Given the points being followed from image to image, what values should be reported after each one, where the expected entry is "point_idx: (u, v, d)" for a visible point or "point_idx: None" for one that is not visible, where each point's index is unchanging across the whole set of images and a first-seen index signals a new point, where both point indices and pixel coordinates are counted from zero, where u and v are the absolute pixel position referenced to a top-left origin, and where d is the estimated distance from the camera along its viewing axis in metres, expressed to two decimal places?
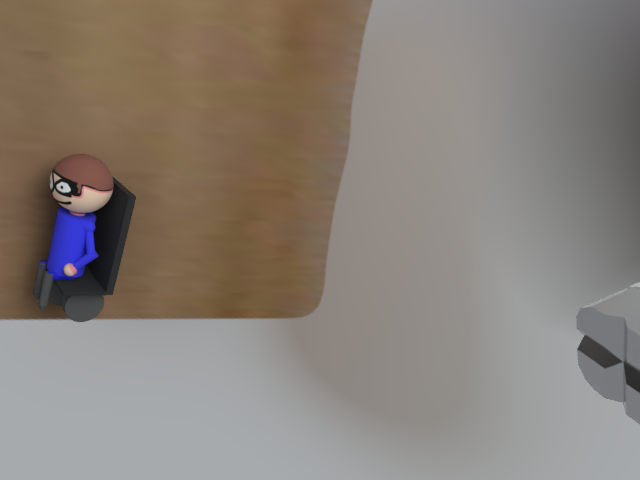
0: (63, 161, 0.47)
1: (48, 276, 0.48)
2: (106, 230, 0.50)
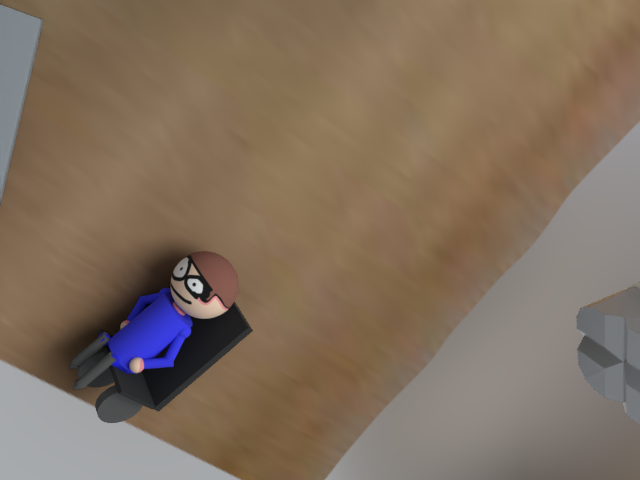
0: (208, 258, 0.41)
1: (110, 360, 0.40)
2: (191, 339, 0.44)
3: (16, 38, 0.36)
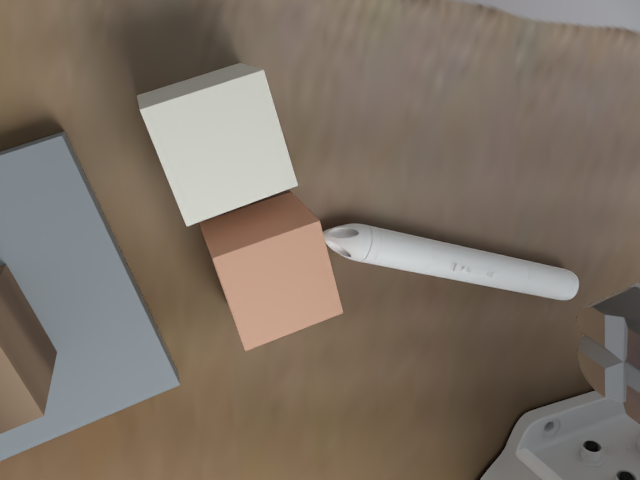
0: None
1: None
2: None
3: (142, 381, 0.29)
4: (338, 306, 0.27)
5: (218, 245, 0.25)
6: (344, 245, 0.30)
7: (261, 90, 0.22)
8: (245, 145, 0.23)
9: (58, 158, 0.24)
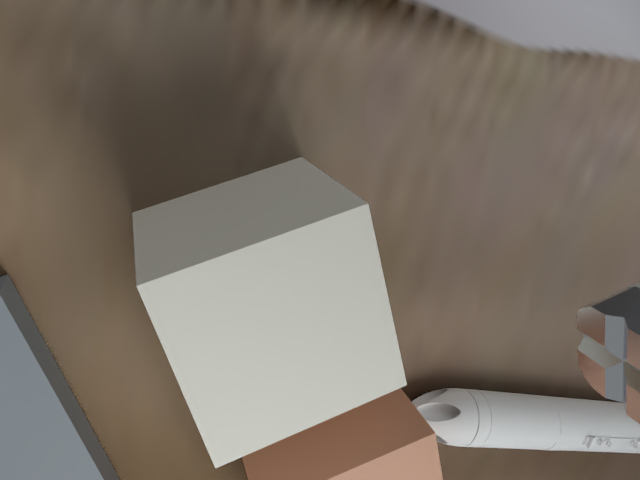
0: None
1: None
2: None
3: None
4: None
5: (263, 470, 0.15)
6: (439, 431, 0.20)
7: (361, 238, 0.12)
8: (326, 331, 0.13)
9: None
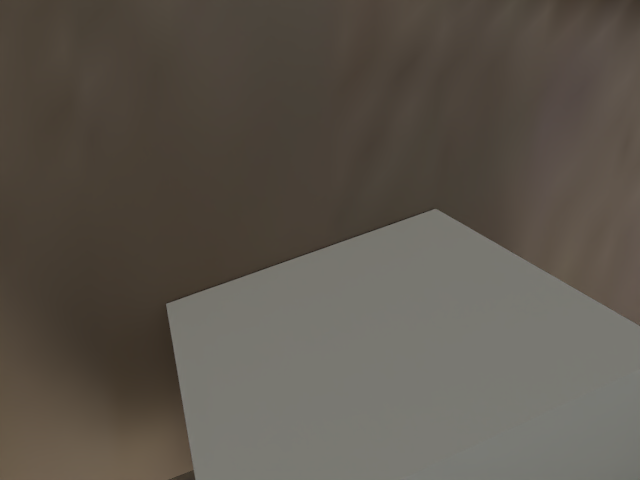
0: None
1: None
2: None
3: None
4: None
5: None
6: None
7: None
8: None
9: None
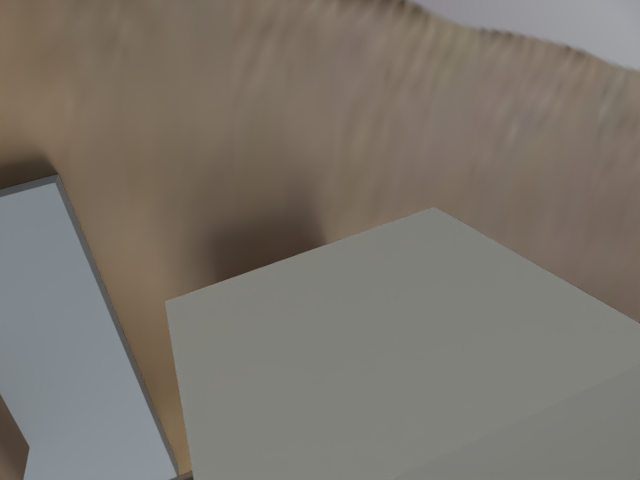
0: None
1: None
2: None
3: None
4: None
5: None
6: None
7: None
8: None
9: (48, 211, 0.19)
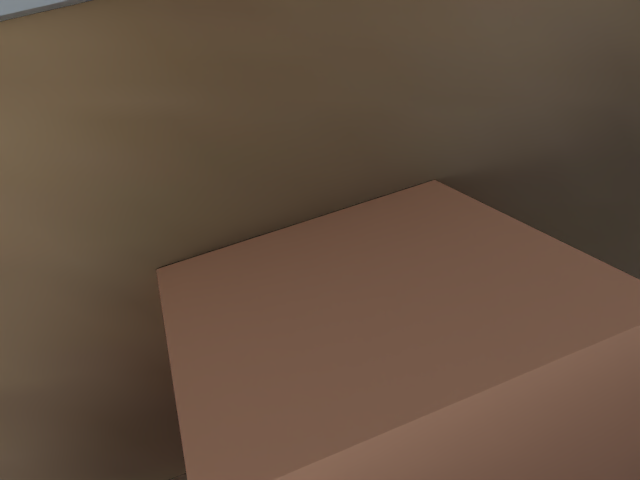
0: None
1: None
2: None
3: None
4: None
5: None
6: None
7: None
8: None
9: None
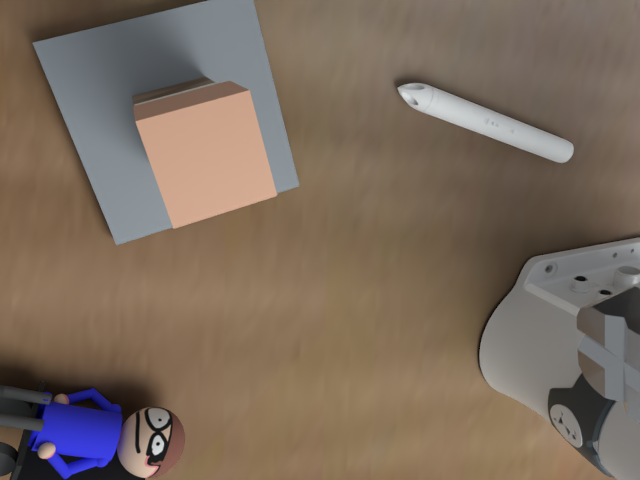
0: (181, 432, 0.43)
1: (38, 428, 0.38)
2: None
3: (275, 179, 0.42)
4: (182, 222, 0.25)
5: None
6: (414, 95, 0.43)
7: None
8: None
9: (246, 5, 0.37)
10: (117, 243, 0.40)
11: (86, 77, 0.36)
